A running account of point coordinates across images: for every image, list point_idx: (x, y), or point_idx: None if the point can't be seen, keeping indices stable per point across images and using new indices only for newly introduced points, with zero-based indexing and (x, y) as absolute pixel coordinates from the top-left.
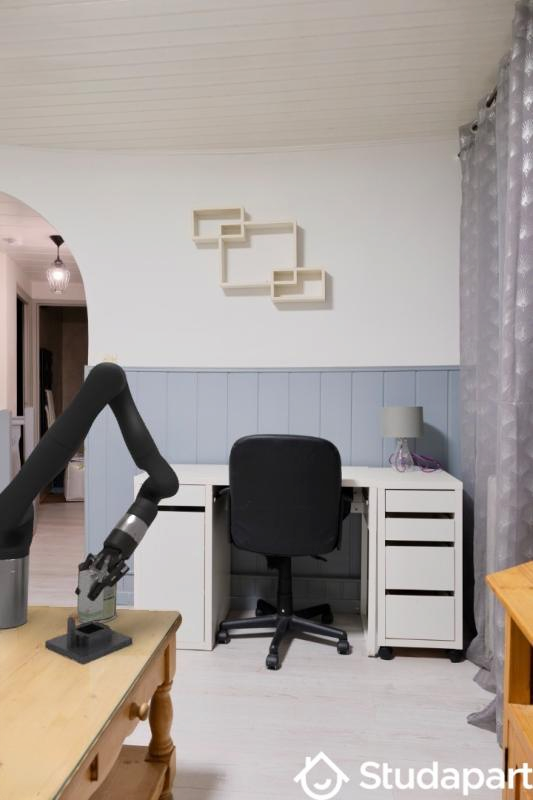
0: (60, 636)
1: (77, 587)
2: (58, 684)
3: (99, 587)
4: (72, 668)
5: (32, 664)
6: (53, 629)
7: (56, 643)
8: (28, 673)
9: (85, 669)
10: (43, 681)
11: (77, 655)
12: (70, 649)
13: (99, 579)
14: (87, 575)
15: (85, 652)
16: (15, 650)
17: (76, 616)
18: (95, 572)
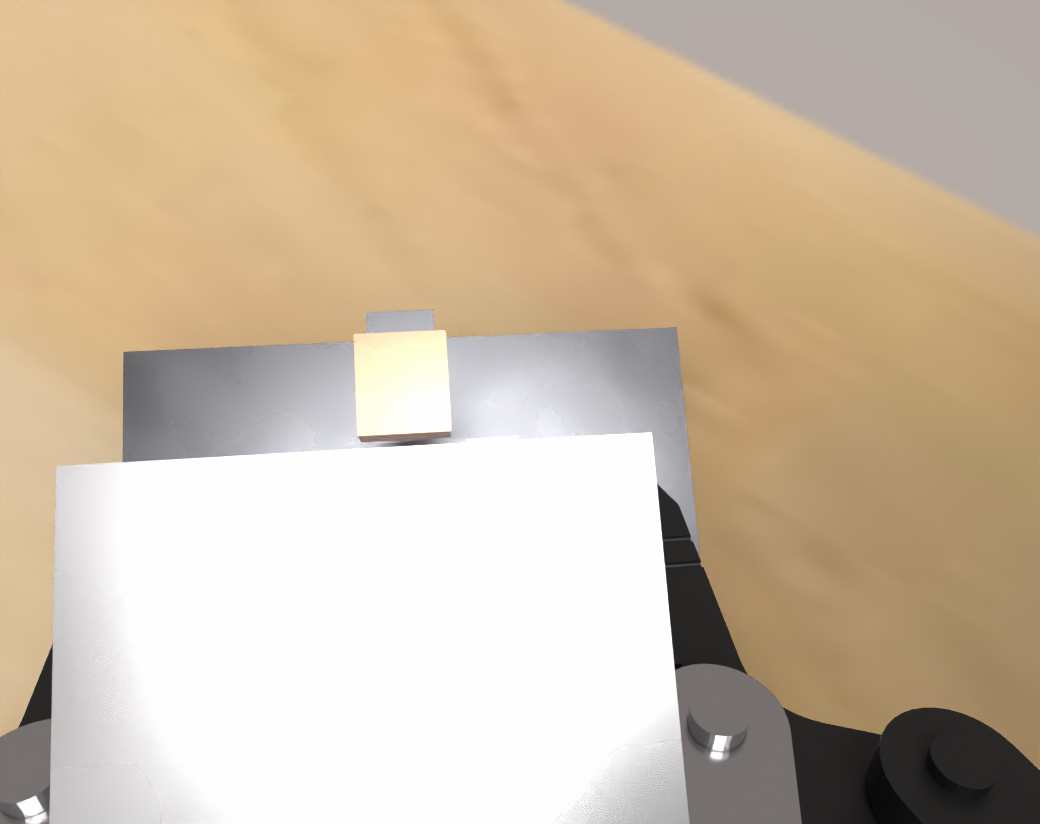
0: (680, 472)
1: (670, 522)
2: (5, 68)
3: (45, 696)
4: (150, 274)
5: (449, 122)
6: (980, 600)
7: (562, 362)
8: (333, 31)
9: (51, 330)
10: (135, 29)
11: (208, 350)
12: (354, 371)
13: (31, 774)
14: (212, 460)
15: (197, 425)
16: (773, 168)
17: (355, 382)
18: (172, 789)
